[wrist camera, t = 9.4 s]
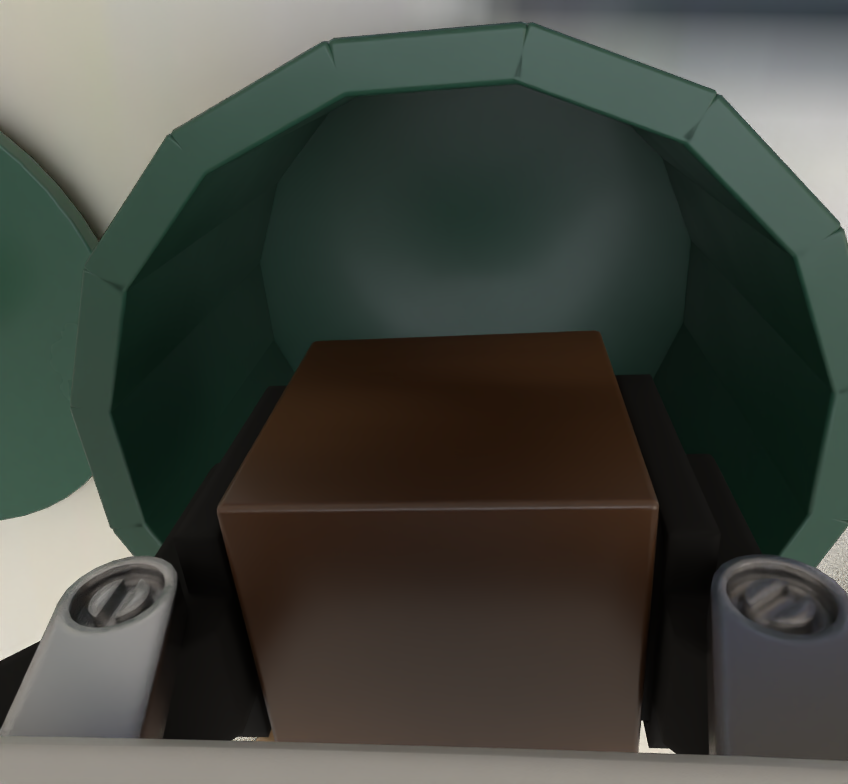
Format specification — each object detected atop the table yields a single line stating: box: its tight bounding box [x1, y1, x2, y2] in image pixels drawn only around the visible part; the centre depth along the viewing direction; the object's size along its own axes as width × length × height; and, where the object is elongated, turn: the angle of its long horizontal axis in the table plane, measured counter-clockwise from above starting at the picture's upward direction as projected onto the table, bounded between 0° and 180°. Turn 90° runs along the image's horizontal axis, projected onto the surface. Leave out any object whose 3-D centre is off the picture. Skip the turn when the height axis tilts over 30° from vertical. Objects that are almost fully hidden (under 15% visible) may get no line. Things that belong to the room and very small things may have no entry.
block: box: [217, 330, 659, 753], centre depth 10 cm, size 4×4×4 cm
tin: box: [70, 22, 848, 568], centre depth 16 cm, size 13×13×9 cm
